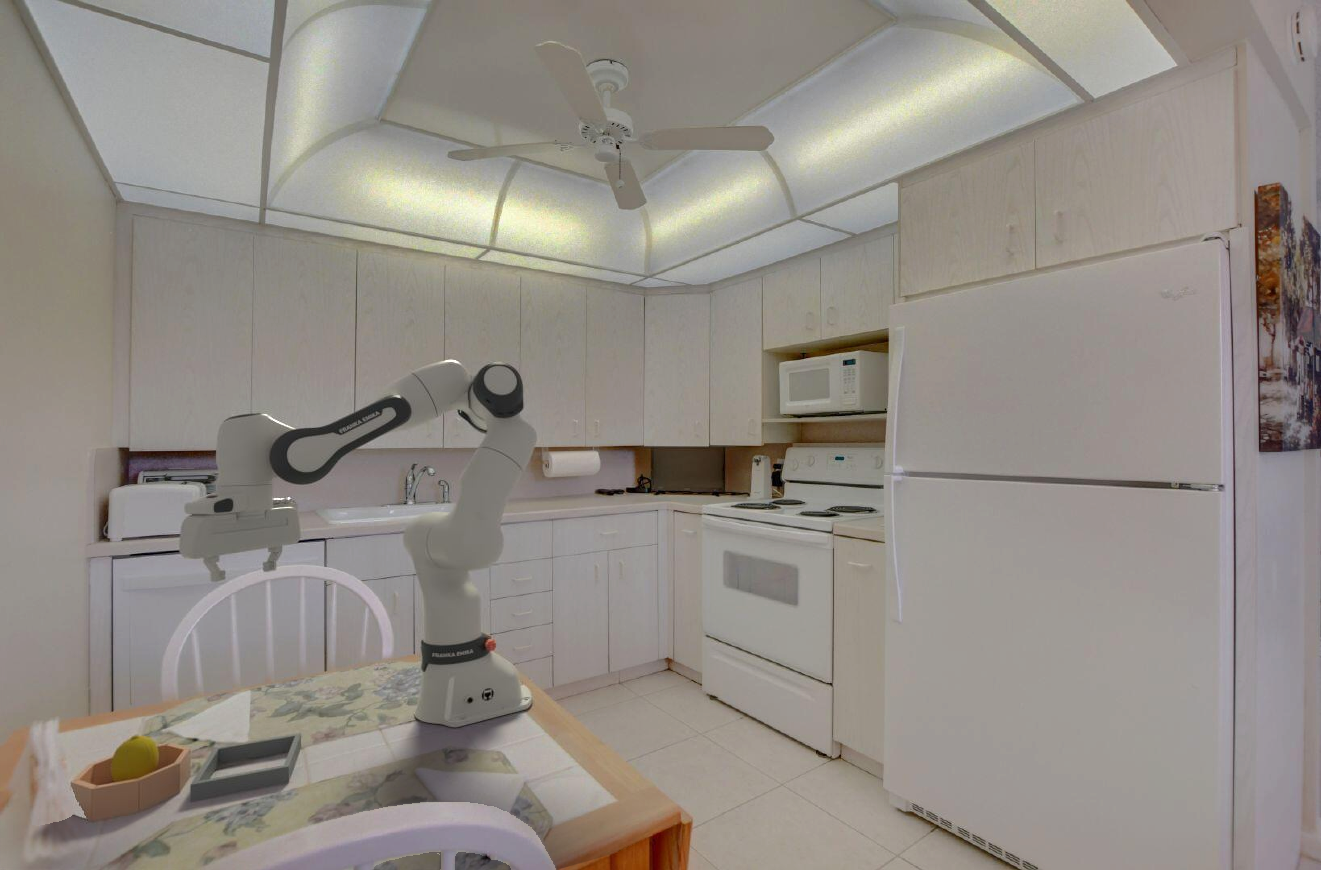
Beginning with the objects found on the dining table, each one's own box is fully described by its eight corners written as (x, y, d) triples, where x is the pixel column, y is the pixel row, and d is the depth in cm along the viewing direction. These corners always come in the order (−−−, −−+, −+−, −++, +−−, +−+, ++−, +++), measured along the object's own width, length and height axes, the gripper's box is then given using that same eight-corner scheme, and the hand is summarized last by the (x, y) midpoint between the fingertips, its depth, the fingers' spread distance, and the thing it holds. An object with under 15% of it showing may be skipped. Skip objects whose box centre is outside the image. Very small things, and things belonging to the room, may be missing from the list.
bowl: (197, 765, 101) (197, 737, 101) (170, 805, 89) (171, 774, 90) (99, 782, 96) (99, 753, 96) (56, 828, 84) (57, 794, 85)
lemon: (130, 800, 90) (130, 745, 90) (100, 796, 91) (101, 742, 91) (167, 780, 95) (168, 728, 95) (139, 777, 96) (139, 725, 96)
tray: (301, 747, 107) (301, 732, 107) (288, 782, 95) (288, 766, 95) (214, 762, 102) (214, 747, 102) (190, 801, 90) (190, 784, 91)
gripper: (286, 496, 124) (286, 565, 124) (173, 504, 105) (173, 585, 105) (308, 496, 122) (308, 566, 121) (197, 505, 103) (196, 588, 102)
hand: (244, 575), depth 113 cm, fingers open, 8 cm apart
